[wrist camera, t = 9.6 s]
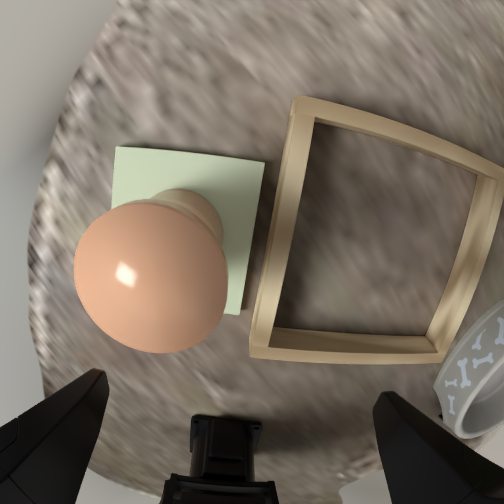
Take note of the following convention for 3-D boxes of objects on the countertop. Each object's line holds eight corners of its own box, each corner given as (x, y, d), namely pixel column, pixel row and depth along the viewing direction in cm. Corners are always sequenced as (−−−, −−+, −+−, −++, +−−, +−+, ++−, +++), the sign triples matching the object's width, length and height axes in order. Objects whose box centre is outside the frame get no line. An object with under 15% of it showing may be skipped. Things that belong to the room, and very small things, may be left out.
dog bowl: (439, 433, 29) (454, 461, 24) (421, 353, 24) (448, 391, 19) (531, 363, 27) (550, 384, 22) (539, 260, 21) (571, 281, 16)
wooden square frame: (428, 345, 23) (441, 362, 21) (249, 335, 22) (250, 357, 19) (487, 166, 18) (508, 171, 15) (291, 101, 16) (299, 94, 14)
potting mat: (239, 310, 21) (239, 315, 20) (114, 290, 20) (112, 294, 20) (264, 162, 18) (265, 163, 17) (119, 146, 17) (116, 146, 16)
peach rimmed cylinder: (225, 289, 20) (218, 362, 13) (127, 276, 19) (82, 338, 12) (239, 187, 18) (238, 216, 11) (130, 175, 17) (70, 197, 10)
